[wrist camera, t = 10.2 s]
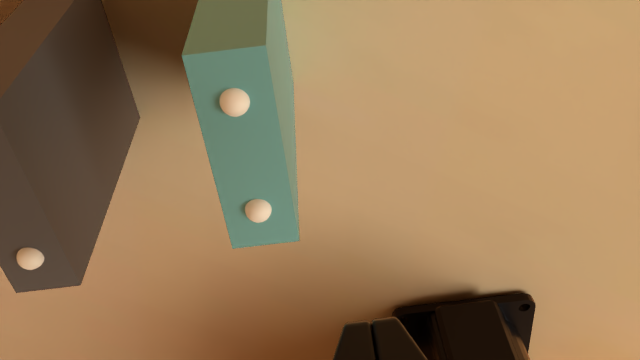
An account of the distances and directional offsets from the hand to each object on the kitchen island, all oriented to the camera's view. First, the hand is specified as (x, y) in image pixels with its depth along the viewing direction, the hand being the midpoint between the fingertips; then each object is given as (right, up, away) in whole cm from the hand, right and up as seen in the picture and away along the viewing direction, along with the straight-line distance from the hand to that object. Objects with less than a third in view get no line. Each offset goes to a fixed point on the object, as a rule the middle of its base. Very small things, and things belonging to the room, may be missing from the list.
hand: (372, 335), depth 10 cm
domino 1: (-8, +7, +10) cm, 15 cm away
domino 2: (-3, +8, +10) cm, 13 cm away
